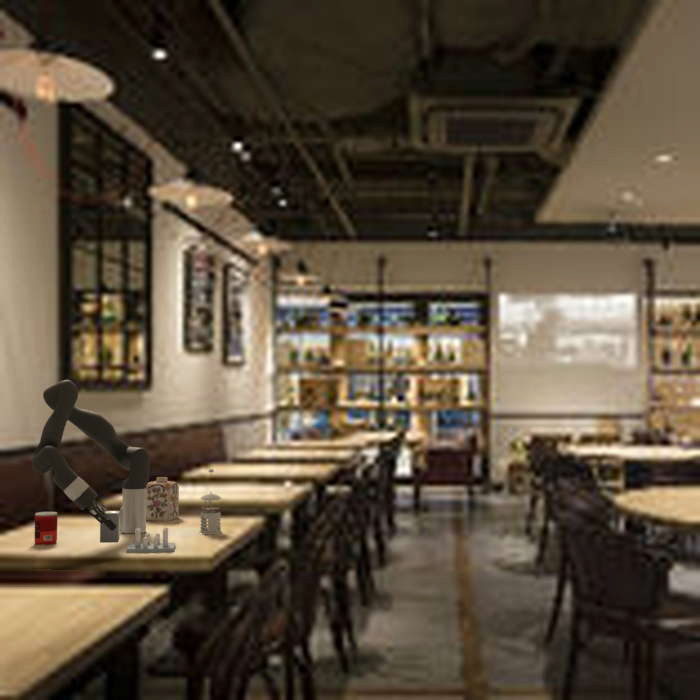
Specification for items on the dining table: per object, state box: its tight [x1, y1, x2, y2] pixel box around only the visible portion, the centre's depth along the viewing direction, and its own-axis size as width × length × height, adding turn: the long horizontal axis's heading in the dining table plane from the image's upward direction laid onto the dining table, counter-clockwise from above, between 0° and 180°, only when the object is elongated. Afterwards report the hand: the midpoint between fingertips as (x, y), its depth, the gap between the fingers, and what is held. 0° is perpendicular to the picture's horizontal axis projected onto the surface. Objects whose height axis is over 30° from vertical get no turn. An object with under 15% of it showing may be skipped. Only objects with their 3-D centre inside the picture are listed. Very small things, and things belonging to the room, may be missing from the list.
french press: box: [198, 468, 224, 535], centre depth 376 cm, size 10×12×25 cm
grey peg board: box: [126, 526, 176, 553], centre depth 338 cm, size 16×12×7 cm
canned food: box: [34, 511, 58, 546], centre depth 348 cm, size 8×8×11 cm
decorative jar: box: [146, 476, 180, 522], centre depth 412 cm, size 12×12×18 cm
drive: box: [99, 510, 121, 544], centre depth 332 cm, size 6×5×10 cm
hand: (115, 527), depth 332 cm, fingers closed on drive, 5 cm apart
